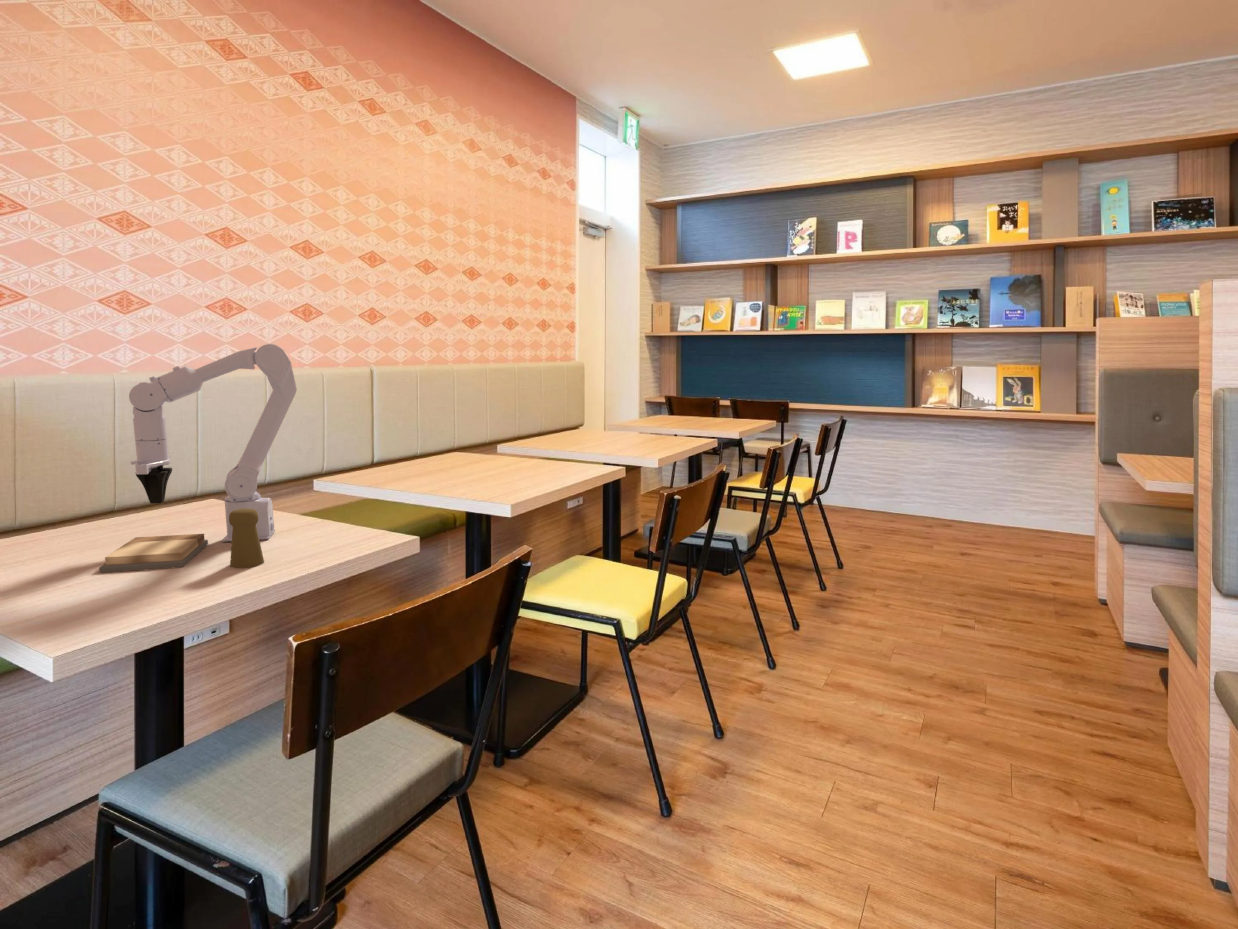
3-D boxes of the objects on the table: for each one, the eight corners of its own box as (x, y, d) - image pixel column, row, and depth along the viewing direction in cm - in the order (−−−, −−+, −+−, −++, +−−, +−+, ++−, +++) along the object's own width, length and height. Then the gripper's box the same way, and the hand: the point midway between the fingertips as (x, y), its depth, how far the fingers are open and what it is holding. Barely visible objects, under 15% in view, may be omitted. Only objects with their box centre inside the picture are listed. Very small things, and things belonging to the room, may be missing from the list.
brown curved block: (204, 540, 157) (204, 533, 157) (198, 545, 153) (198, 538, 152) (136, 544, 153) (135, 537, 153) (128, 549, 149) (127, 542, 149)
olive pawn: (240, 559, 146) (236, 505, 144) (270, 559, 146) (266, 506, 144) (223, 567, 140) (219, 512, 138) (254, 568, 140) (250, 512, 138)
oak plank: (198, 545, 152) (197, 538, 152) (182, 560, 142) (181, 552, 142) (127, 549, 149) (126, 542, 149) (105, 564, 138) (104, 557, 138)
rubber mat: (208, 544, 158) (207, 539, 157) (182, 567, 140) (182, 562, 140) (134, 548, 154) (134, 543, 154) (99, 572, 137) (98, 567, 137)
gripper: (142, 436, 159) (147, 497, 161) (116, 444, 145) (122, 510, 147) (178, 435, 161) (183, 495, 163) (155, 443, 147) (161, 508, 149)
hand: (157, 502), depth 155 cm, fingers closed
